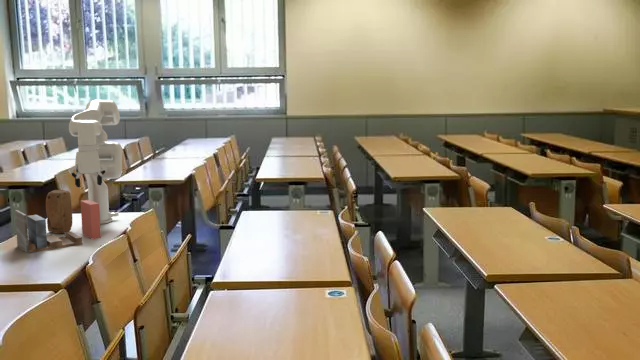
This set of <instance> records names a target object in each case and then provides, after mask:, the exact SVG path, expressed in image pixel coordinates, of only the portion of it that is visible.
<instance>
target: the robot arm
mask: <svg viewBox="0 0 640 360" xmlns="http://www.w3.org/2000/svg"><path fill="white" fill-rule="evenodd" d="M120 121H121V115H120V111H119V109H118V105H117V103H116V102H115V101H113V100H111V99H94V100H93V99H92V100H90V101H88V103H86V106H85V108H84V111H81V112H78V113H76V114H74V115H72V116H71V118H70V121H69V124H68V132H69V134H70V136H72V137H77V145H78V146H77V147H78V149H77V150H78V151H76V155H75V161H74V162H75V163H74V165H73V166H71V167H70V168H68V172H69V174H70V175H71V177H73V178H74V185H75V186H76V187H77V188H81V178H80V177H81V175H85V176H86V181H87V192H88V193H87V196H88V197H87V198H88V200H91V201H94V202H96V203H99V211H100V225H102V224H103V225H104V224H108V223H111V222H113V217H119V212H110V209H109V208H110V206H109V188H108V184H106V183H105V181H104V180H115V179H119V178H121V176H122V174H123V148H122V145H121V144H120V143H119V142H117V141H108V134H107V132H106V131H105V130H104V129H103V126H117V125H118V124H119V123H120ZM74 171H75V173H74Z"/></svg>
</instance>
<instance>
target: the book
mask: <svg viewBox="0 0 640 360" xmlns="http://www.w3.org/2000/svg"><path fill="white" fill-rule="evenodd" d="M80 214H81V215H80V216H81V234H82V235H83V236H86V237H87V238H89V239H90V240H95V239H101V224H100V211H99V203H96V202H94V201H91V200H89V199H85V200H80Z"/></svg>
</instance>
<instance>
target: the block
mask: <svg viewBox="0 0 640 360" xmlns="http://www.w3.org/2000/svg"><path fill="white" fill-rule="evenodd" d="M45 213H46V217H47V219H46V228H47V231H48V233H49V232H50V233H51V234H53V233H54V234H59V235H60V234H65V232H71V230H72V226H73V206H72V197H71V192H70V190H63V189H55V190H51V191H50V192H48V193H47V195H46V198H45Z"/></svg>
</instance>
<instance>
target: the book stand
mask: <svg viewBox="0 0 640 360" xmlns="http://www.w3.org/2000/svg"><path fill="white" fill-rule="evenodd" d="M14 216H15V230H16V244H17V246H16V247H18V248H19V249H20V250H22V251H23V252H24V253H26V254H27V253H35V252H36V253H37V252H43V251H48V250H53V249H54V250H55V249H61V248H67V247H72V246H80V245H83V237H82V236H80V235H78V234H76V233H75V232H73V231H70V232H65V233H64V234H65V236H62V237H60V236H59V237H57V236H56V235H53V233H51V234H47V219H46V218H44V217H42V216H40V215H38V214H33V215H32V214H31V215H30V214H29V215H27V214H25V213H24V212H22V211H20V210H19V209H15V210H14Z"/></svg>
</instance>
